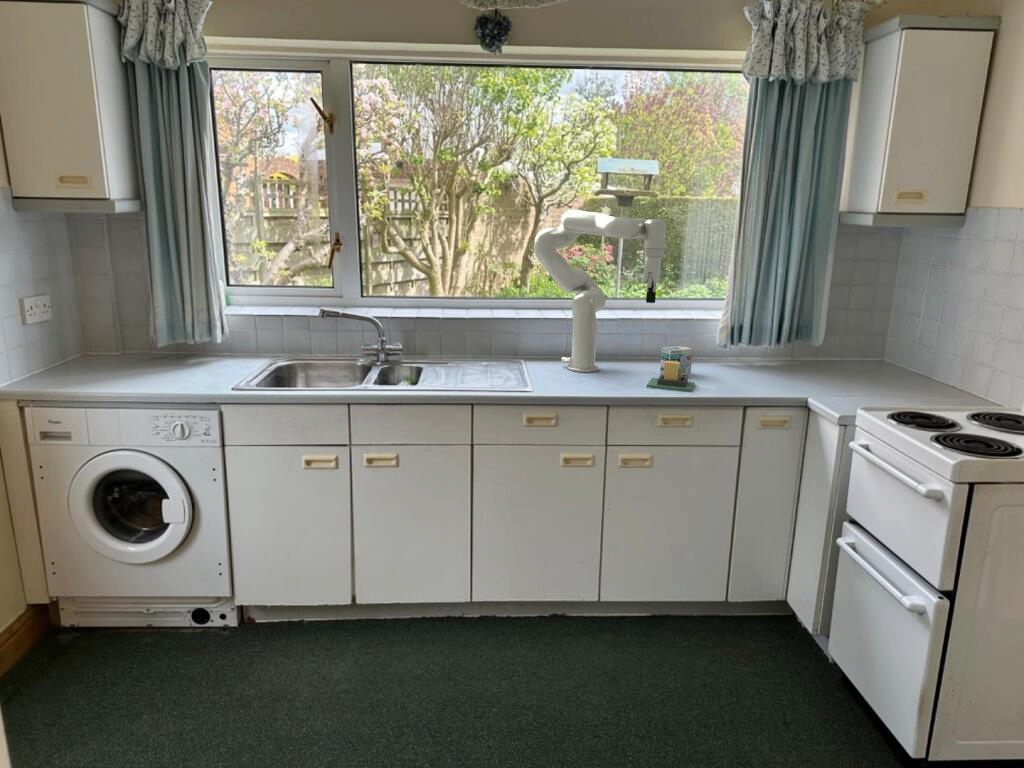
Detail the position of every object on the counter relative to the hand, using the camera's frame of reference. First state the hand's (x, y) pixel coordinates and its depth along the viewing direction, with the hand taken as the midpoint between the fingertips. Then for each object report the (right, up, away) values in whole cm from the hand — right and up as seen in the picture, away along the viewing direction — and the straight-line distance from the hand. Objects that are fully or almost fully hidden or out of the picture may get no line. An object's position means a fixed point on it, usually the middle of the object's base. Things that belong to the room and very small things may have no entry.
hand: (650, 302), depth 275 cm
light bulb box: (+12, -27, +13) cm, 33 cm away
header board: (+6, -31, -6) cm, 33 cm away
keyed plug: (+6, -31, -6) cm, 32 cm away
